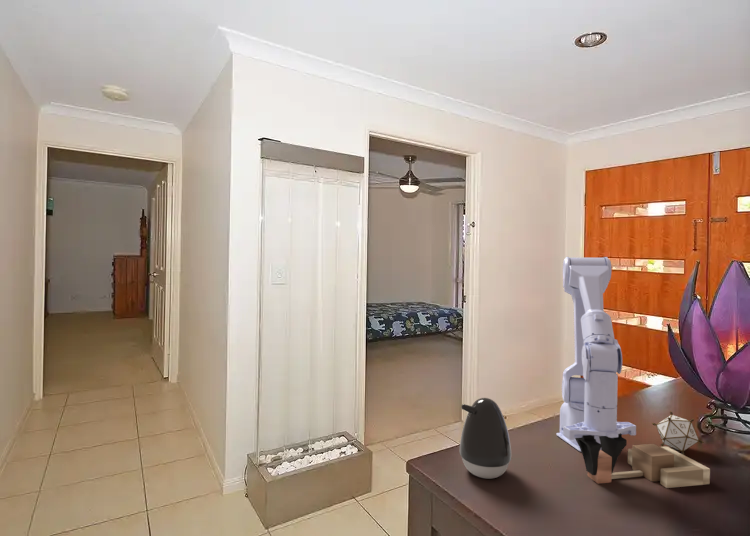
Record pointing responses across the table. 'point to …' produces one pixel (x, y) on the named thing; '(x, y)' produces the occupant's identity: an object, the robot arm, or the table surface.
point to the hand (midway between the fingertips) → (599, 472)
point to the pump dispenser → (485, 440)
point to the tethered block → (635, 464)
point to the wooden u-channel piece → (681, 471)
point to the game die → (677, 432)
